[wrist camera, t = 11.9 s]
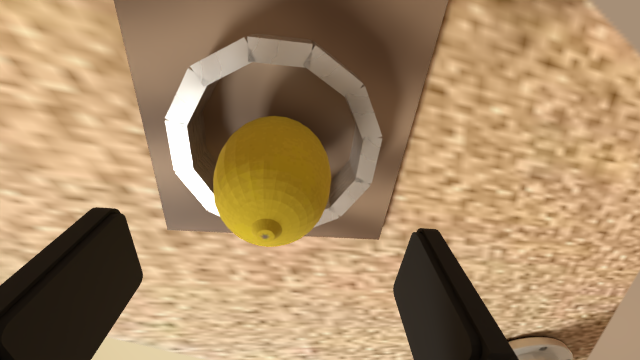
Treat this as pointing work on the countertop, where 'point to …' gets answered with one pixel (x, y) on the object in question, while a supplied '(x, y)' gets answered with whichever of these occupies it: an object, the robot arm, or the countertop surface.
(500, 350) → the robot arm
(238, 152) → the lemon
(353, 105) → the steel ring
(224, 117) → the walnut board
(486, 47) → the countertop surface
